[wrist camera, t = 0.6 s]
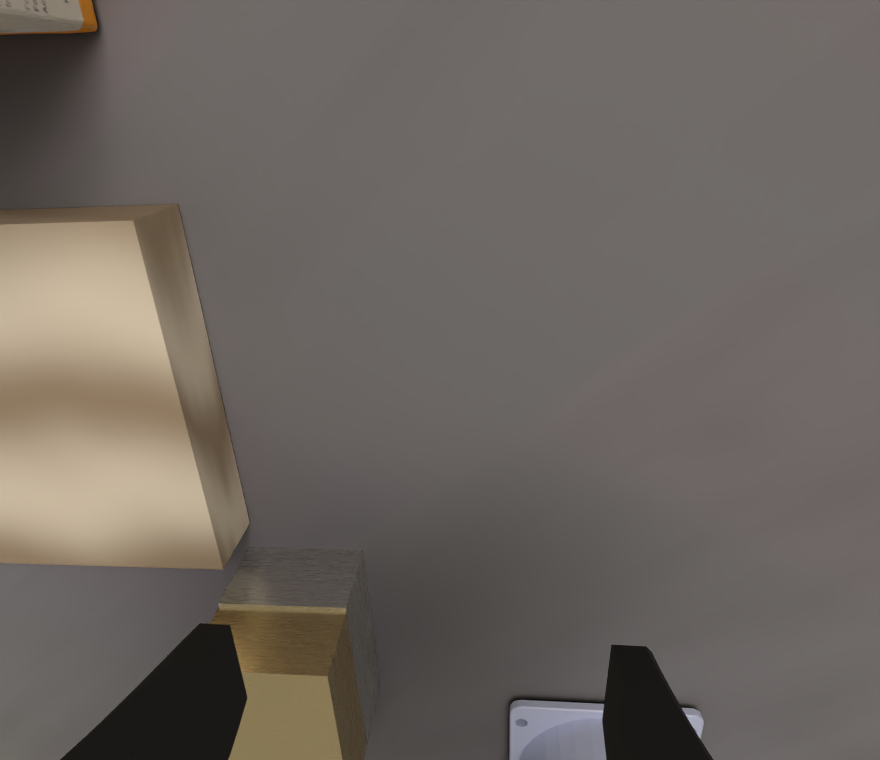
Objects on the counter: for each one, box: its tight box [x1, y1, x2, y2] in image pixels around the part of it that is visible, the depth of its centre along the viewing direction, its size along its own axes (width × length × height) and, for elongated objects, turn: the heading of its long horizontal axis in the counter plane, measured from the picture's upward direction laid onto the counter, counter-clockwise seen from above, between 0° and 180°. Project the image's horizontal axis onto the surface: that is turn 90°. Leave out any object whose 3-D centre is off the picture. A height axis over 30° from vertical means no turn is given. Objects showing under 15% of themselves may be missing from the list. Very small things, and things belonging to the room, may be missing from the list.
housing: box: [210, 548, 380, 760], centre depth 23 cm, size 8×5×6 cm, turn 2°
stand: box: [0, 204, 250, 569], centre depth 20 cm, size 12×12×2 cm
